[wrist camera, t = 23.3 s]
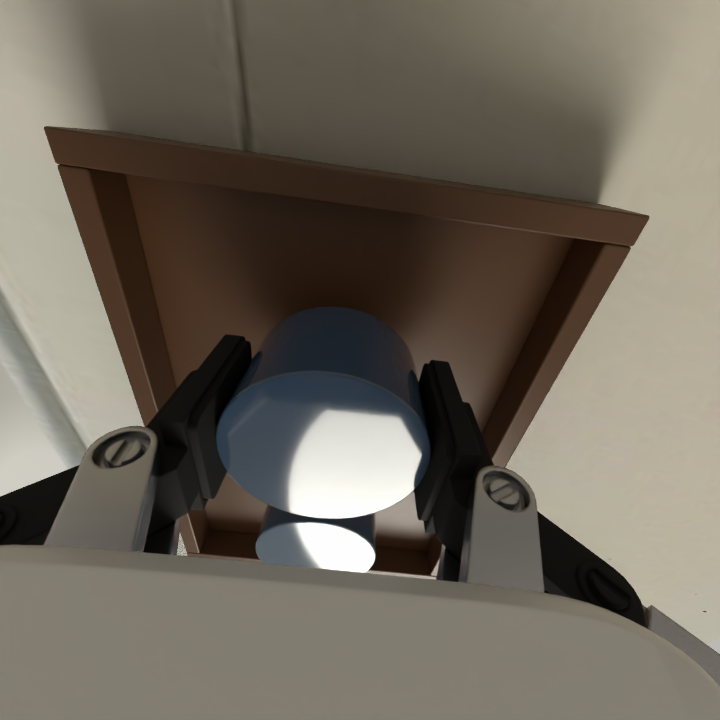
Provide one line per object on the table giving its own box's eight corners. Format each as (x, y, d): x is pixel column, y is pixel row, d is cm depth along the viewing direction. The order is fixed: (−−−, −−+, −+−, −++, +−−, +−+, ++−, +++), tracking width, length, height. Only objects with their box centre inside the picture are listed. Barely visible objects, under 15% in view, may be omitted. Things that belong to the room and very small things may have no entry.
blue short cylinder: (298, 440, 16) (281, 506, 13) (395, 478, 17) (399, 546, 14) (260, 498, 19) (238, 564, 16) (346, 527, 20) (341, 592, 17)
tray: (107, 130, 10) (41, 125, 8) (599, 203, 10) (651, 216, 9) (204, 522, 22) (188, 559, 20) (433, 545, 22) (439, 583, 20)
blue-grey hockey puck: (293, 272, 9) (257, 329, 6) (449, 355, 11) (478, 433, 8) (235, 400, 12) (191, 481, 9) (365, 453, 13) (363, 538, 10)
